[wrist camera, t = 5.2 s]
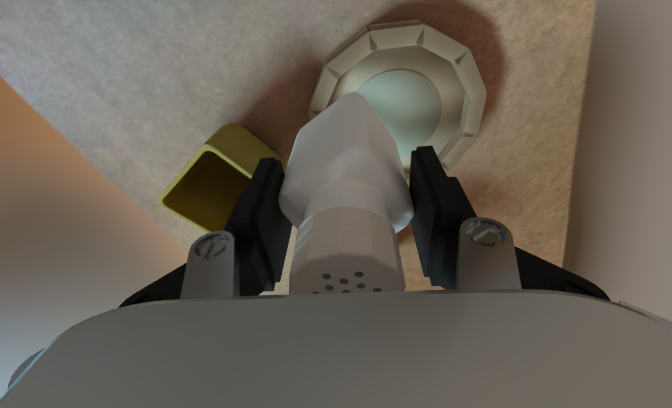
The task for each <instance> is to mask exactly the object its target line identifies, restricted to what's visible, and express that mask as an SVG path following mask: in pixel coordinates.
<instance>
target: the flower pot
mask: <svg viewBox="0 0 672 408" xmlns="http://www.w3.org/2000/svg"><path fill="white" fill-rule="evenodd" d="M268 157H275V158H276V159H277V160H280V161H281V162H282V166H283V170H284V174H285V171H286V168H287V166H286V164H285V163H284V161H283V160H282V159H281V158H280V157H279V156H278V154H277V153H275V152H274V151H273V150H272V149H271V148H269V147H268V146H267V145H266V144H264V143H263V142H262V141H261V140H259V139H258V138H257V137H256V136H255V135H253V134H252V133H251V132H250V131H249V130H247V129H246V128H245V127H243V126H241V125H239V124H236V123H230V124H227V125H224V126H223V127H222V128H220V129H219V130H218V131H217V132H216V133H215V134H214V135H213V136H212V137H211V138H210V139H208V140H207V141H206V142H205V143H204V144H203V145H202V146H201V147H200V149H199V150H198V151H197V152H196V154H195V155H194V156H193V157H192V159H191V160H190V161H189V162H188V163H187V165H186V166H185V167H184V168H183V169H182V171H181V172H180V173H179V174H178V175H177V176H176V178H175V179H174V180H173V181H172V182H171V184H170V185H169V186H168V187H167V188H166V189H165V190H164V191H163V193H162V194H161V195H160V196H159V197H158V199H157V203H158V204H159V205H160V206H162V207H163V208H165V209H167V210H168V211H170V212H171V213H173V214H175V215H177V216H179V217H181V218H183V219H184V220H186V221H188V222H189V223H191V224H193V225H195V226H197V227H198V228H200V229H202V230H204V231H205V232H207V233H210V232H213V231H223V229H224V227H225V225H226V223H227V221H228V219H229V217H230V215H231V213H232V211H233V209H234V206H235V204H236V202H237V200H238V198H239V196H240V194H241V192H242V191H243V190H246V188H247V186H248V184H249V182H250V180H251V178H252V176H253V173H254V171H255V169H256V167H257V165H258V163H259V161H260V159H261V158H268Z"/></svg>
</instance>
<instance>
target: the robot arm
mask: <svg viewBox="0 0 672 408" xmlns="http://www.w3.org/2000/svg"><path fill="white" fill-rule="evenodd" d="M284 176H285V174H284V170H283V166H282V162H281V161H280V160H277V159H276V158H275V157H268V158H261V159H260V161H259V163H258V165H257V167H256V169H255V171H254V173H253V176H252V178H251V180H250V182H249V184H248V186H247V188H246V190H243V191H242V192H241V194H240V196H239V198H238V200H237V202H236V204H235V206H234V209H233V211H232V213H231V215H230V217H229V219H228V221H227V223H226V225H225V227H224V229H223V231H213V232H210V233H207V234H205V235H203V236H202V237H200V238H199V239H198V240H196V241H195V242H194V243H193V245H192V246H191V248H190V250H189V255H188V260H187V263H185V264H184V265H182V266H180V267H179V268H177V269H175V270H173V271H172V272H170V273H169V274H167V275H165V276H164V277H162V278H160V279H158V280H157V281H155V282H153V283H152V284H150V285H148V286H147V287H145V288H143V289H141V290H140V291H138V292H136V293H135V294H133V295H132V296H130V297H129V298H127V299H126V300H125V301H124V302H123V303H122V304H121V305H120V306H119V308H117V309H113V310H110V311H107V312H104V313H101V314H99V315H96V316H93V317H91V318H88V319H86V320H84V321H82V322H80V323H78V324H76V325H74V326H72V327H70V328H69V329H68V330H66V331H65V332H63V333H62V334H60V335H59V336H58V337H57V338H56V339H55V340H53V341H52V342H51V343H50V344H49V345H48V346H47V347H46V348H44V349H42V350H40V351H39V352H37V353H35V354H34V355H32V356H31V357H29V358H28V359H27V360H26V361H25V362H24V363H22V364H21V365H20V366H19V367H18V369H17V370H16V371H15V373H14V374H13V375H12V377H11V380H10V382H9V385H8V390H7V391H6V392H5V394H4V395H3V396H2V397H1V398H0V408H672V322H671V321H669V320H666V319H664V318H661V317H659V316H657V315H654V314H652V313H649V312H647V311H644V310H642V309H640V308H637V307H635V306H632V305H630V304H628V303H625V302H622V301H620V302H619V303H615V302H611V301H610V299H609V297H608V296H607V295H606V294H605V292H604V291H603V290H601V289H600V288H599V287H598V286H596V285H595V284H593V283H592V282H590V281H588V280H586V279H584V278H582V277H580V276H578V275H576V274H573V273H571V272H569V271H567V270H565V269H563V268H560V267H558V266H556V265H554V264H552V263H550V262H547V261H545V260H543V259H541V258H539V257H537V256H535V255H532V254H530V253H528V252H526V251H524V250H522V249H519V248H517V247H515V246H514V242H513V236H512V234H511V232H510V230H509V229H508V228H507V227H506V226H505V225H503V224H502V223H500V222H498V221H496V220H493V219H489V218H485V217H477V216H476V214H475V212H474V210H473V208H472V206H471V204H470V202H469V200H468V198H467V196H466V195H465V193H464V191H463V189H462V187H461V185H460V183H459V181H458V179H457V178H456V177H447V175H446V173H445V171H444V169H443V167H442V165H441V163H440V161H439V158H438V156H437V154H436V152H435V150H434V148H433V146H432V145H431V146H417V148H416V150H413V151H411V162H410V178H409V191H410V195H411V199H412V202H413V206H414V216H413V218H412V219H411V225H412V229H413V234H414V238H415V242H416V246H417V250H418V254H419V258H420V262H421V266H422V270H423V274H424V276H425V277H430V281H431V285H432V286H441V287H442V288H444V289H446V290H423V291H384V292H351V293H319V294H289V295H261V296H259V294H260V293H262V292H263V291H274V287H275V283H276V282H280V279H281V275H282V270H283V266H284V261H285V257H286V252H287V248H288V243H289V239H290V234H291V229H292V225H293V224H292V223H291V222H290V221H289V220H288V218H287V217H286V216H285V215H284V214H283V213H282V211H281V209H280V206H279V202H278V195H279V192H280V189H281V186H282V182H283V179H284Z"/></svg>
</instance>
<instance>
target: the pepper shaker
mask: <svg viewBox="0 0 672 408" xmlns="http://www.w3.org/2000/svg"><path fill="white" fill-rule="evenodd" d="M278 202H279V206H280V209H281V211H282V213H283V214H284V215H285V216H286V217H287V218H288V220H289V221H290V222H291V223H292V224H293V225H294V226H295V227H296V228H297V229H298V233H297V237H296V244H295V250H294V255H293V260H292V265H291V270H290V280H289V294H319V293H351V292H384V291H404V289H405V287H406V285H405V279H404V274H403V268H402V265H401V257H400V254H399V246H398V242H397V236H396V233H397V232H399V231H400V230H402V229H403V228H405V227H406V226H407V225H408V224H409V222H410V221H411V219H412V218H413V216H414V206H413V202H412V199H411V195H410V191H409V188H408V184H407V181H406V177H405V174H404V170H403V166H402V163H401V159H400V156H399V152H398V149H397V145H396V141H395V140H394V138H393V137H392V136H391V134H390V133H389V131H388V130H387V128H386V127H385V126H384V124H383V123H382V122H381V120H380V119H379V117H378V116H377V115H376V113H375V112H374V110H373V109H372V108H371V106H370V105H369V103H368V102H367V101H366V99H365V98H364V96H362V95H360V94H359V93H357V92H355V91H354V92H351V93H347V94H345V95H343V96H342V97H341V98H339V99H338V100H337V101H336V102H334V103H333V104H332V105H330V106H329V107H328V108H327V109H325V110H324V111H323V112H321V113H320V114H319V115H318V116H316V117H315V118H314V119H312V120H311V121H310V122H309V123H307V124H306V125H305V126H303V127H302V128H301V129H300V130H299V132H298V134H297V136H296V139H295V142H294V146H293V149H292V152H291V155H290V158H289V162H288V165H287V168H286V171H285V176H284V179H283V182H282V186H281V189H280V192H279V195H278Z"/></svg>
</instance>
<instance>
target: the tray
mask: <svg viewBox="0 0 672 408" xmlns="http://www.w3.org/2000/svg"><path fill="white" fill-rule="evenodd" d="M354 91H355V92H357V93H359V94H360V95H362V96H364V98H365V99H366V101H367V102H368V103H369V105H370V106H371V108H372V109H373V110H374V112H375V113H376V115H377V116H378V117H379V119H380V120H381V122H382V123H383V124H384V126H385V127H386V128H387V130H388V131H389V133H390V134H391V136H392V137H393V138H394V140H395V141H396V145H397V149H398V152H399V156H400V159H401V163H402V166H403V170H404V174H405V177H406V181H407V184H408V188H409V178H410V162H411V151H413V150H416V148H417V146H431V145H432V146H433V148H434V150H435V152H436V154H437V156H438V158H439V161H440V163H441V165H442V167H443V169H444V171H445V173H446V172H448V171H449V170H451V168H452V167H453V166H454V165H455V164H456V162H457V161H458V160H459V159H460V158H461V156H462V155H463V154H464V153H465V151H466V150H467V149H468V148H469V147H470V145H471V144H472V143H473V142H474V141H475V139H476V138H477V136H478V133H479V129H480V124H481V119H482V115H483V110H484V106H485V101H486V97H487V90H486V88H485V85H484V83H483V80H482V78H481V75H480V73H479V70H478V68H477V65H476V63H475V60H474V58H473V56H472V53H471V51H470V49H469V48H468V47H466V46H465V45H464V44H462V43H461V42H459V41H458V40H456V39H454V38H452V37H450V36H449V35H447V34H445V33H443V32H441V31H440V30H438V29H436V28H434V27H433V26H431V25H429V24H427V23H425V22H424V21H422V20H420V19H411V20H403V21H395V22H387V23H379V24H371V25H367V26H365V27H364V28H362V29H361V30H360V31H359V32H358V33H356V34H355V35H354V36H353V37H351V38H350V39H349V40H348V41H346V42H345V43H344V44H343V45H341V46H340V47H339V48H338V49H336V50H335V51H334V52H333V53H332V54H330V55H329V56H328V57H327V58H326V60H325V63H324V65H323V68H322V71H321V73H320V76H319V79H318V81H317V84H316V86H315V89H314V92H313V94H312V97H311V99H310V103H309V108H308V115H309V121H311V120H312V119H314V118H315V117H316V116H318V115H319V114H320V113H321V112H323V111H324V110H325V109H327V108H328V107H329V106H330V105H332V104H333V103H334V102H336V101H337V100H338V99H339V98H341V97H342V96H343V95H345V94H347V93H351V92H354Z"/></svg>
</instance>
